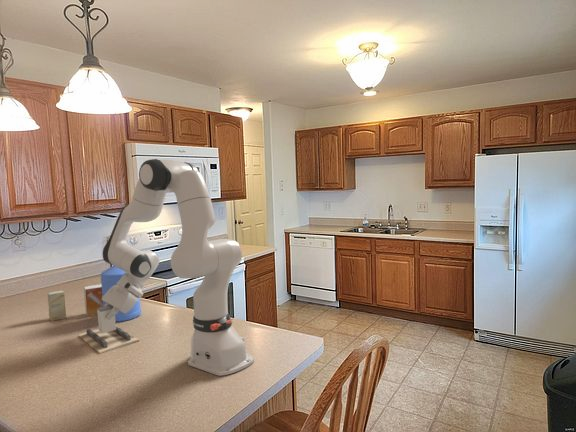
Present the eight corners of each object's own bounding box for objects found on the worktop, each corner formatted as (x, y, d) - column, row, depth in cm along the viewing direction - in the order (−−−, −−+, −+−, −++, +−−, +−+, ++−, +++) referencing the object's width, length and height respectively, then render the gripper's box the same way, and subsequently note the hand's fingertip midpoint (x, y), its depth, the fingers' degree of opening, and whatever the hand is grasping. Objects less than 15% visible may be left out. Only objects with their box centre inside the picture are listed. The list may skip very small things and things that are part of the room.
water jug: (95, 321, 168) (90, 258, 166) (121, 309, 183) (116, 251, 181) (125, 323, 164) (120, 259, 161) (148, 311, 179) (144, 252, 176)
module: (116, 329, 148) (114, 306, 147) (102, 333, 145) (100, 310, 144) (112, 327, 151) (110, 304, 150) (98, 330, 148) (97, 308, 147)
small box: (87, 317, 174) (84, 289, 173) (85, 313, 179) (83, 286, 178) (106, 313, 178) (104, 286, 177) (104, 310, 184) (102, 283, 182)
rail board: (139, 341, 144) (138, 334, 144) (99, 353, 135) (99, 346, 134) (115, 326, 161) (114, 320, 161) (78, 336, 152) (78, 329, 152)
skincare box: (50, 321, 170) (48, 294, 169) (49, 319, 174) (46, 292, 173) (66, 317, 174) (64, 291, 173) (65, 315, 178) (62, 289, 177)
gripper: (112, 278, 159) (89, 307, 153) (132, 286, 144) (107, 319, 138) (124, 286, 162) (101, 315, 156) (145, 295, 147) (121, 327, 141)
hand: (104, 317), depth 147 cm, fingers closed on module, 4 cm apart
